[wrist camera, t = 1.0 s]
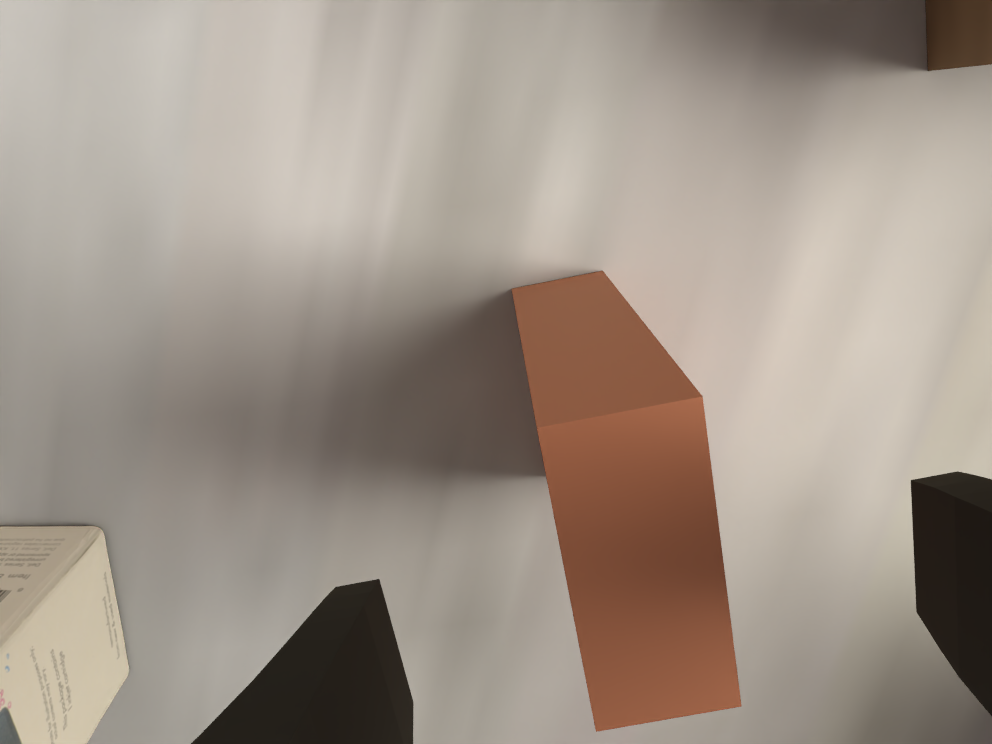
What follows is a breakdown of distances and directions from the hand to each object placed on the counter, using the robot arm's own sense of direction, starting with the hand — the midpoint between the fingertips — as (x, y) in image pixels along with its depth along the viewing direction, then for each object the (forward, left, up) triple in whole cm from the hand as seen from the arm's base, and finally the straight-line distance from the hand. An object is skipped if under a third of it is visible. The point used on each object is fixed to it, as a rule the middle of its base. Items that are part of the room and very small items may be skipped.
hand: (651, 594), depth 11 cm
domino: (0, 0, -10) cm, 10 cm away
